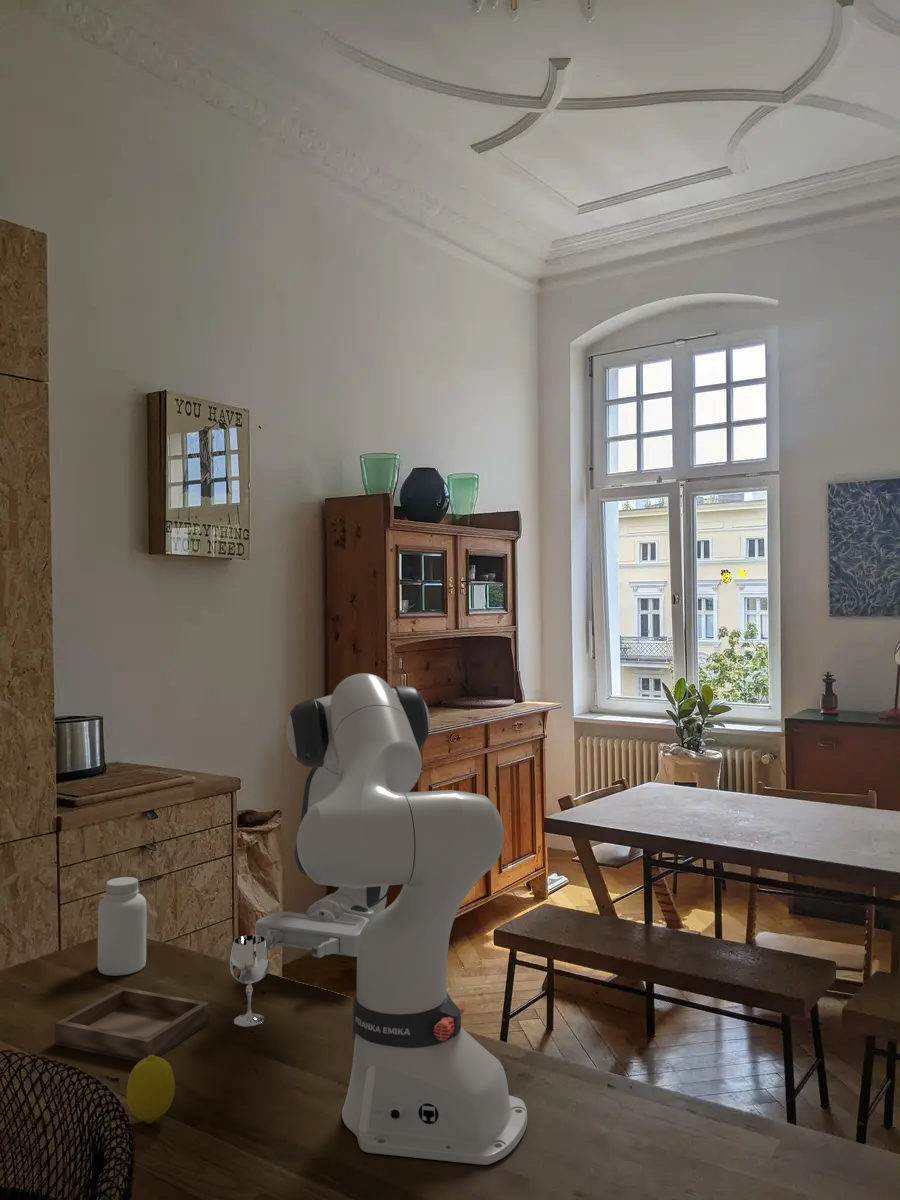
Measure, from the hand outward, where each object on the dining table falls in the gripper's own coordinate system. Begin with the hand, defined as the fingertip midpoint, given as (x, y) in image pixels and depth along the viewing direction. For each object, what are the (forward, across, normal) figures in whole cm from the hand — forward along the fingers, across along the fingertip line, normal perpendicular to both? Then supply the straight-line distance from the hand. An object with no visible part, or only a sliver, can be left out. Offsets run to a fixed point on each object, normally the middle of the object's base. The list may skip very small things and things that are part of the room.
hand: (289, 948), depth 153 cm
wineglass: (+12, 0, +7) cm, 14 cm away
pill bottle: (+2, -32, +7) cm, 33 cm away
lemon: (+41, +5, +7) cm, 42 cm away
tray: (+22, -13, +7) cm, 26 cm away
